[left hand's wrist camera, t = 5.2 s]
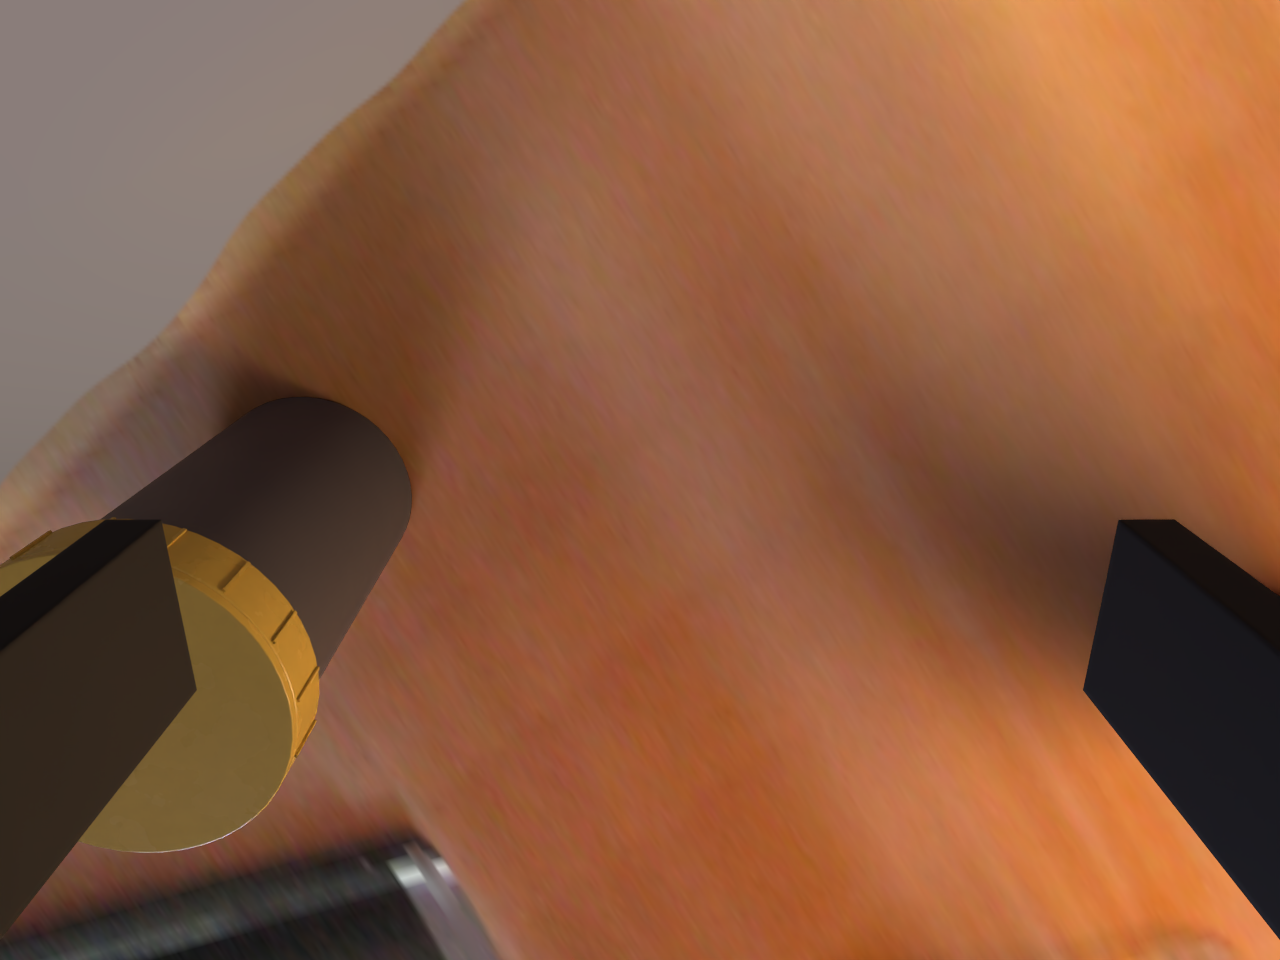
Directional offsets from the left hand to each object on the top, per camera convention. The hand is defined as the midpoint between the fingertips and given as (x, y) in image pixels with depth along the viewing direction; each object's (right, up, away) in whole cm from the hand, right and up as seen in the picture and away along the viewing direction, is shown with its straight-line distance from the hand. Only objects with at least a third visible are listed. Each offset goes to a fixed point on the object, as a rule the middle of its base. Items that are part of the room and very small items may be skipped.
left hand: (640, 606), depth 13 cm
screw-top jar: (-15, +1, +30) cm, 33 cm away
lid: (-15, -5, +14) cm, 21 cm away
